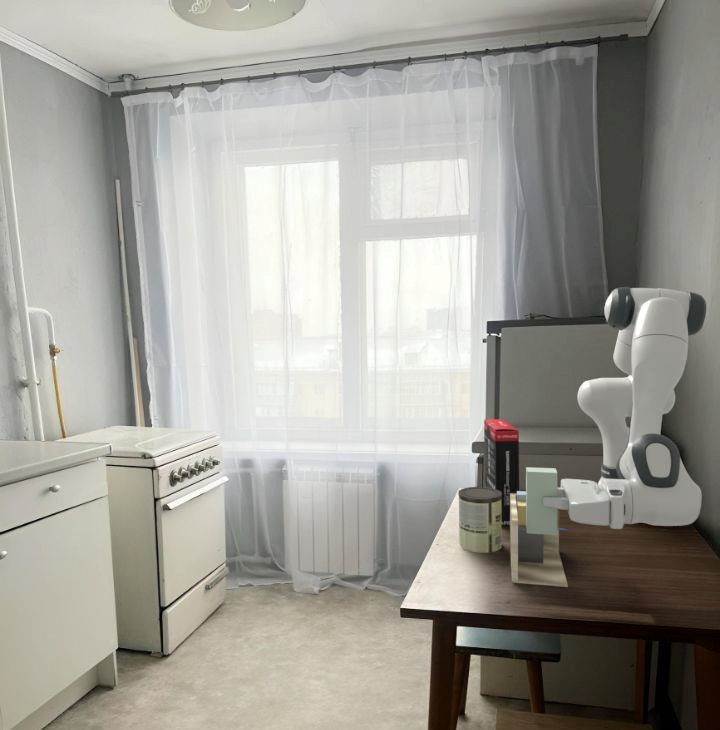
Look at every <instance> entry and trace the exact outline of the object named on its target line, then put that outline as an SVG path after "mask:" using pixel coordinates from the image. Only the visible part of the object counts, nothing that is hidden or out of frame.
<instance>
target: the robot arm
mask: <svg viewBox="0 0 720 730" xmlns="http://www.w3.org/2000/svg"><path fill="white" fill-rule="evenodd" d="M603 308H604V317H605V319H606V320H605V322H606V323H607V325H609V327H611V328H613V329H615V330H618V334H617V339H616V343H615V347H614V351H613V357H612V358H613V362H614V364H615V366H616V367H617V368H618V369H619V370H620V371H622V372H623V373H625V374H626V375H628V376H626V377H599V378H593V379H589V380H585V381H583V383H581V385H580V386H579V388H578V391H577V395H576V397H577V403H578V405H579V408H580V409H581V410H582V412H584V414H586V415H587V416H588V417H590V418H591V420H593V421H594V423H595V424H596V425H597V427H598V430H599V432H600V434H601V438H602V439H601V440H602V450H603V452H602V453H603V455H602V456H603V458H602V459H603V462H602V463H601V467H600V472H601V473H600V474H601V475H600V476H601V477H600V479H599V481H598V483H597V482H596V481H593V480H589V479H588V480H587V479H577V478H562V479H561V480H560V487H559V486H557V498H555V497H552V496H543V505H544V506H548V507H554V508H558V509H559V510H562V511H563V510H565V511H567V513H568V516H569V519H570V521H572V522H576V523H578V524H583V525H584V524H585V525H593V526H603V527H604V526H605V527H606V526H607V527H608V526H609V527H610V529H613V530H621V529H623V527H624V525H626V524H628V525H634V524H639V523H643V524H648V525H651V526H657V527H658V526H659V527H661V526H662V527H674V526H675V527H677V526H679V527H680V526H681V527H682V526H688V525H691V524H693V523H694V522H696V521H697V519H698V518H699V517H700V515H701V511H702V509H703V494H702V493H703V492H702V490H701V488H700V486H699V485H697V483H696V482H694V480H693V479H692V478H691V476H690V474H689V473H688V472H687V470H686V468H685V465H684V464H683V461H682V458H681V455H680V450H679V449H678V446H677V445H676V444H675V443H674V442H673V440H672V439H670V438H668V437H667V436H665V435H662V434H661V430H662V422H663V415H665V414H668V413H669V412H670V411H671V410H672V409H673V407H674V405H675V402H676V393H675V388H676V386H677V385H678V383H679V381H680V380H681V378H682V376H683V374H684V372H685V367H686V364H687V359H688V351H689V350H688V349H689V336H694V335H695V336H696V335H697V333H699V332H701V330H702V329H703V326H704V325H705V323H706V321H707V316H708V309H707V301H706V300H705V298H704V297H703V295H701V294H699V293H695V292H692V291H687V292H685V291H681V290H675V289H670V288H664V287H663V288H661V287H658V288H650V287H631V288H630V287H629V286H623V287H622V286H621V287H617V288H616V287H615V289H613V290H612V291H611V292H610V294H609V296H608V297H607V299H606V301H605V305H604V307H603ZM626 418H630V422H629V423H630V424H629V426H628V425H627V422H626V421H627V420H626Z"/></svg>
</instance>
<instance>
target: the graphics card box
mask: <svg viewBox="0 0 720 730" xmlns="http://www.w3.org/2000/svg"><path fill="white" fill-rule="evenodd" d="M483 427H484V428H483V429H484V431H483V432H484V433H483V434H484V440H483V441H484V443H483V444H484V445H483V446H484V487H487V488H493V489H496V490H499V491H500V492H501V493H502V497H501V513H502V514H501V515H502V527H510V493H516V494H517V491H520V445H519V444H520V442H519V441H520V440H519V439H520V438H519V437H520V436H519V434H520V433H519V432H520V431H519V430H518V429H517V428H516V427H514V426H513V425H512V424H510V423H509V422H508V421H507V420H505V419H499V418H497V419H496V418H494V419H493V418H490V419H489V418H488V419H486V418H484V419H483Z"/></svg>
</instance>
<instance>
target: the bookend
mask: <svg viewBox="0 0 720 730" xmlns="http://www.w3.org/2000/svg"><path fill="white" fill-rule="evenodd" d="M518 562H530V563H543V534H530V533H527V530H526V526H518Z"/></svg>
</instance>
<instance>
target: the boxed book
mask: <svg viewBox="0 0 720 730" xmlns="http://www.w3.org/2000/svg"><path fill="white" fill-rule="evenodd" d="M525 480H526V481H525V491H526V530H527V533H530V534H546V535H557V508H554V507H548V506H544V505H543V496H552V497H555V498H557V487H558V471H557V469H556V468H555V467H554V468H553V467H530V466H529V467H527V466H526V467H525Z"/></svg>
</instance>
